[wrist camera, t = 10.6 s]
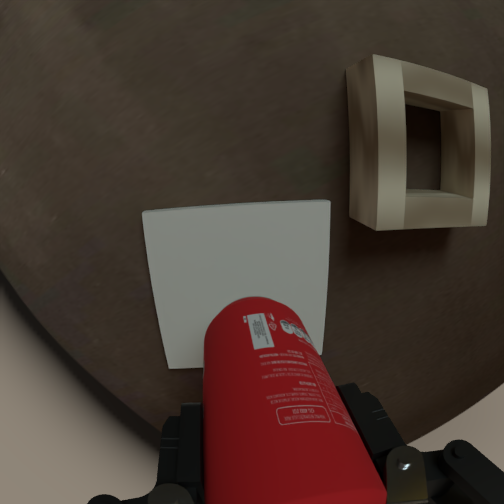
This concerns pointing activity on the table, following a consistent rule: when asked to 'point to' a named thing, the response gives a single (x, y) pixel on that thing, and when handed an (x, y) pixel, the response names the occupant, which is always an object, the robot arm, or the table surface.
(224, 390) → the beverage can
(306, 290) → the pad
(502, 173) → the table surface
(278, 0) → the table surface
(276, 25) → the table surface
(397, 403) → the table surface
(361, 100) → the collar
